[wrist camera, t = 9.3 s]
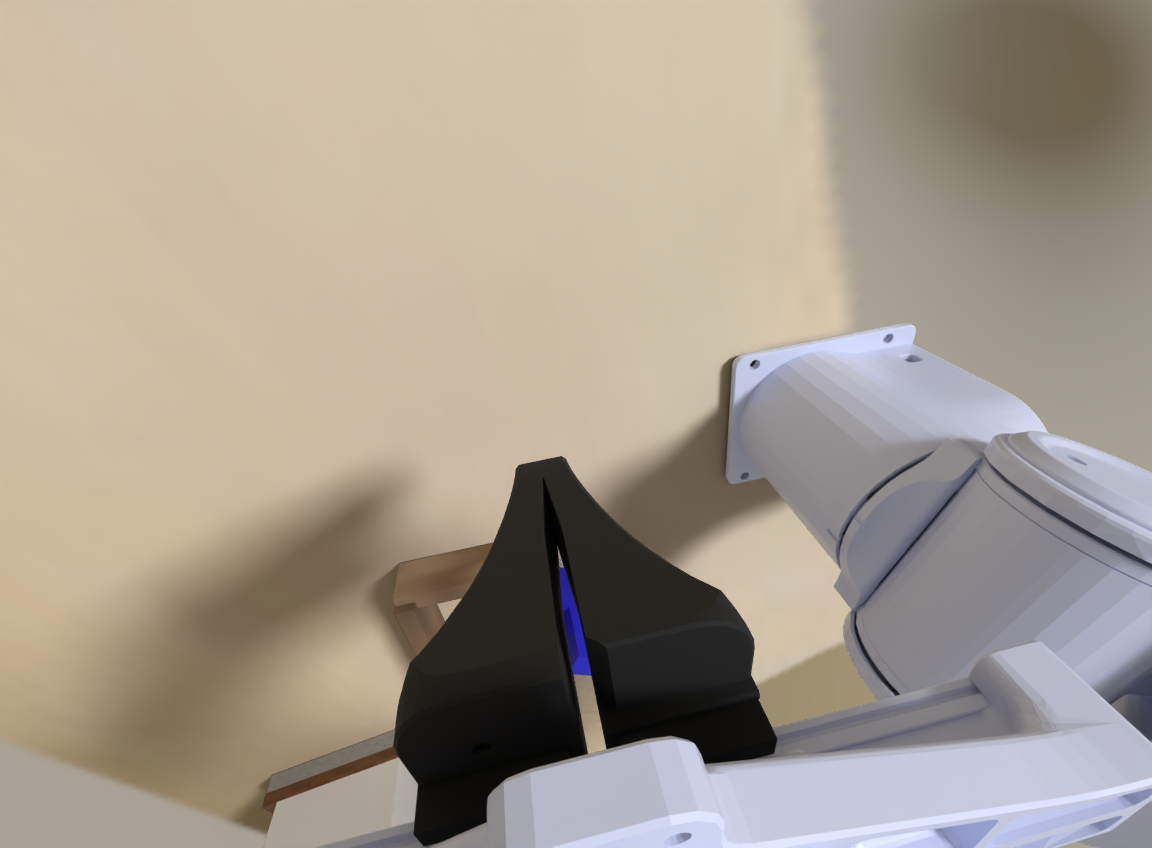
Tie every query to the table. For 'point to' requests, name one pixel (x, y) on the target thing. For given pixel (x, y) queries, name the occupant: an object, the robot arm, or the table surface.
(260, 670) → the table surface
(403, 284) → the table surface
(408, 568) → the frame
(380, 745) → the display case
